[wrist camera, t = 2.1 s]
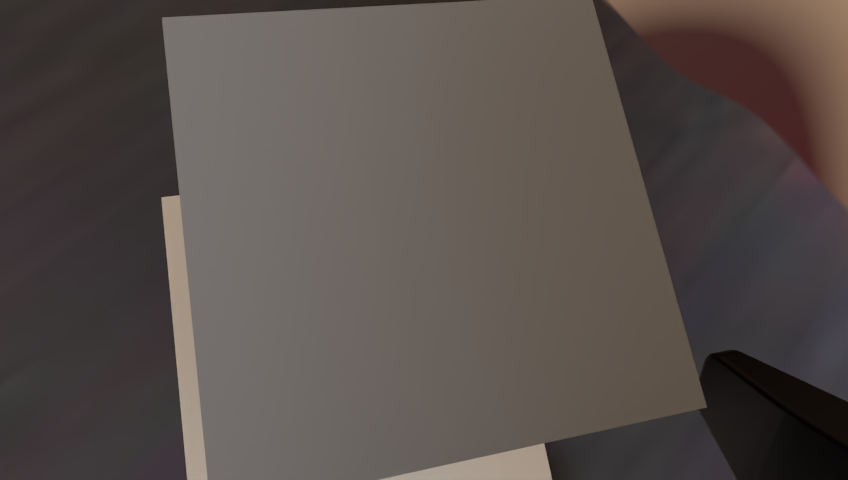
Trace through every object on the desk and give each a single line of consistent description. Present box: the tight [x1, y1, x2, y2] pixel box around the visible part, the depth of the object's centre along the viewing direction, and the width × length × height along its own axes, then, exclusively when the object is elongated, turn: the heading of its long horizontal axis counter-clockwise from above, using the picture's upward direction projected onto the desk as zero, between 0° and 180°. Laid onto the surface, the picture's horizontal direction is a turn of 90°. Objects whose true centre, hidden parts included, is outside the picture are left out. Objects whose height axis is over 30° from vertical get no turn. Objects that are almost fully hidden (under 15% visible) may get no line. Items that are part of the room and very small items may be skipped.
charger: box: [162, 0, 707, 480], centre depth 12 cm, size 5×5×13 cm
